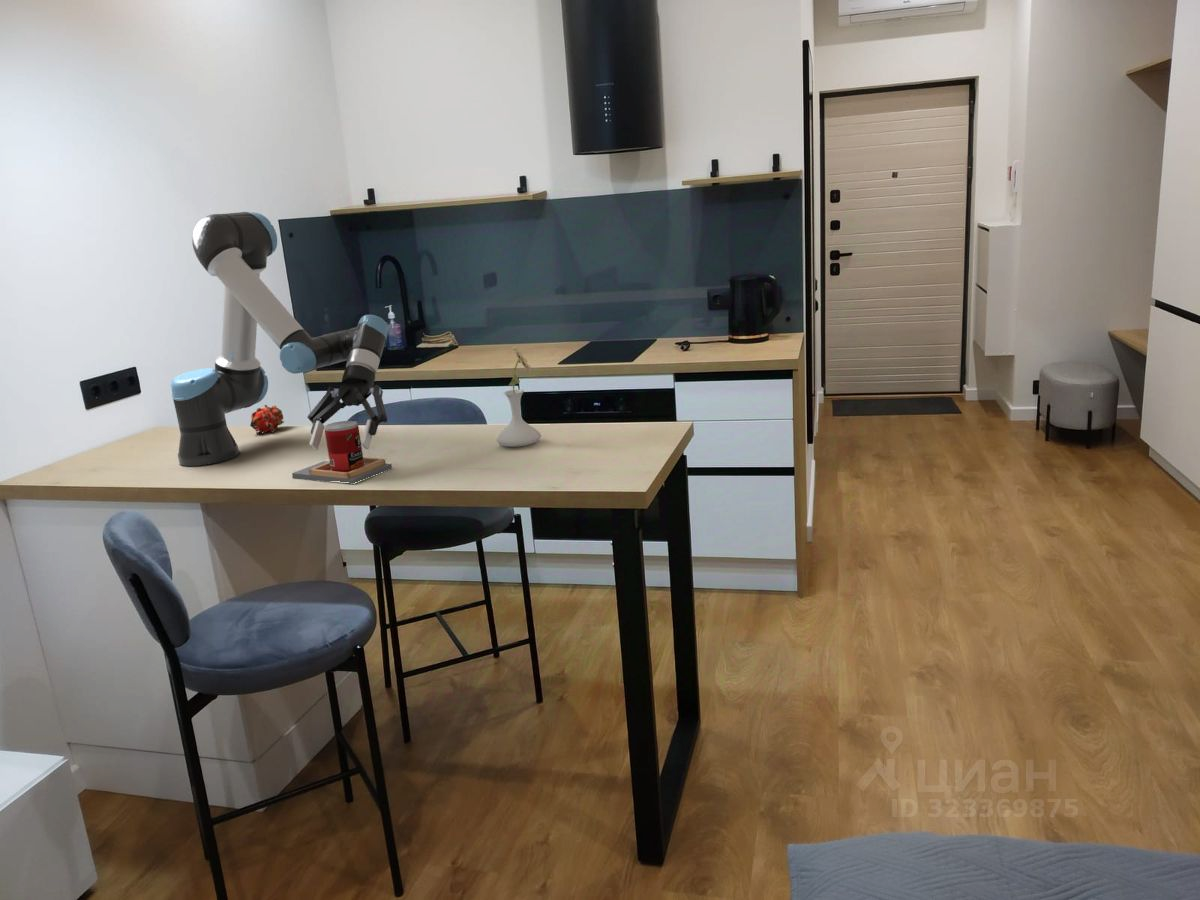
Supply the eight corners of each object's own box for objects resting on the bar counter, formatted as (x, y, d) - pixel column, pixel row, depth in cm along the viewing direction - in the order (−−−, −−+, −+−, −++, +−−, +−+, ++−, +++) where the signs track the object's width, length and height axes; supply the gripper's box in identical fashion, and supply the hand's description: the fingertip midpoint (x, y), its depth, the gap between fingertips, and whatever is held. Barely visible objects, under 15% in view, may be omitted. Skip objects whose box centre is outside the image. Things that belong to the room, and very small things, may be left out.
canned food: (356, 473, 219) (349, 428, 216) (325, 473, 220) (317, 429, 218) (370, 464, 226) (363, 420, 223) (340, 464, 228) (333, 421, 225)
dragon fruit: (288, 431, 282) (258, 447, 273) (267, 415, 284) (237, 430, 274) (294, 410, 277) (264, 426, 268) (273, 394, 279) (242, 409, 269)
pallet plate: (292, 477, 224) (291, 468, 223) (332, 462, 235) (330, 453, 234) (353, 484, 214) (352, 474, 213) (392, 468, 225) (390, 459, 224)
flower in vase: (531, 450, 230) (521, 350, 224) (489, 450, 234) (478, 352, 228) (550, 436, 242) (541, 341, 236) (510, 436, 246) (500, 343, 239)
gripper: (412, 378, 229) (393, 454, 219) (323, 381, 236) (300, 454, 226) (400, 361, 223) (379, 438, 213) (308, 364, 229) (284, 439, 219)
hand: (338, 446), depth 219 cm, fingers open, 13 cm apart
